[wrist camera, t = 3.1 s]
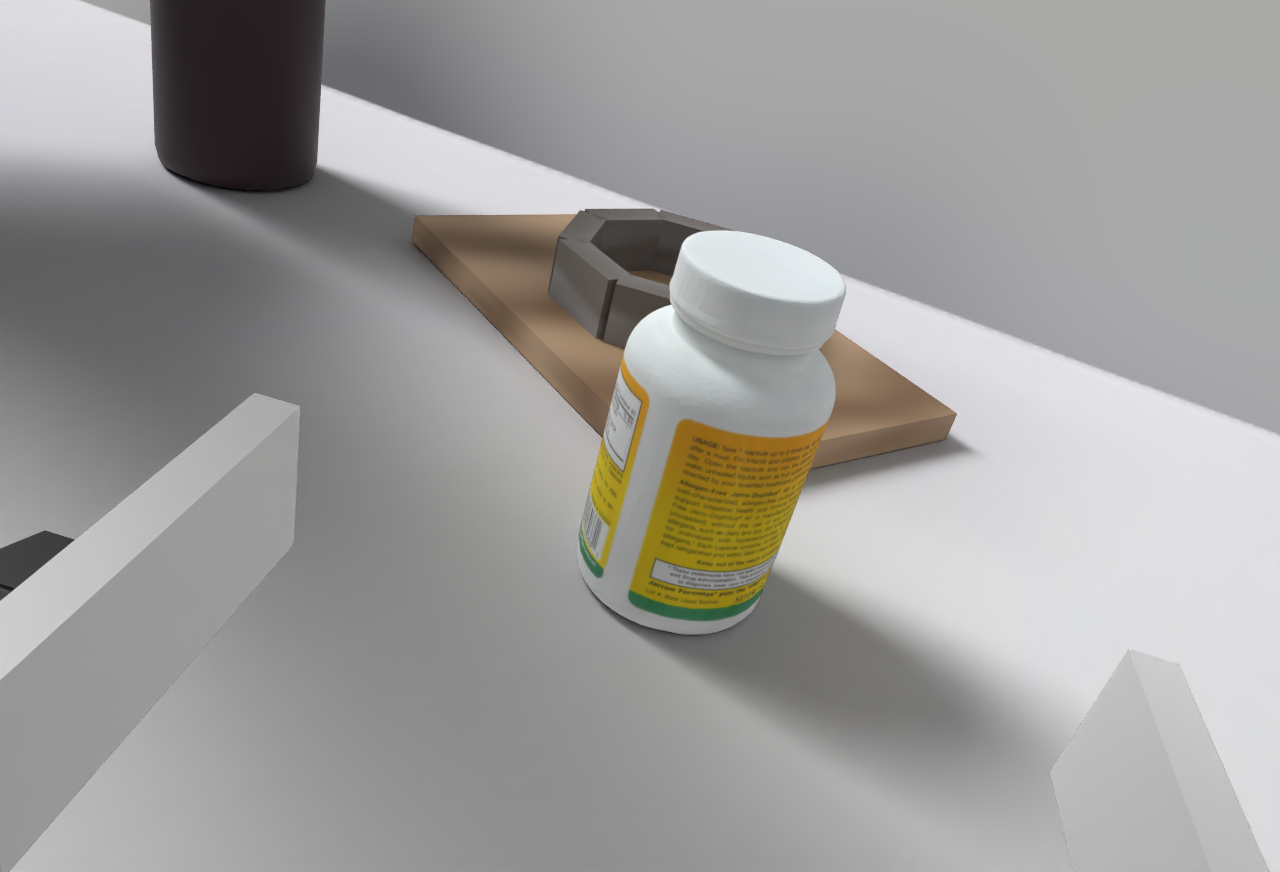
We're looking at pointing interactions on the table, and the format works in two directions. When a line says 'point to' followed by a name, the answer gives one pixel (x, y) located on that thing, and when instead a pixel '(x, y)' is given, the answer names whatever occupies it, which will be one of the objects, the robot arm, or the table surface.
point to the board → (594, 367)
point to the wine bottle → (238, 89)
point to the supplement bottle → (711, 434)
